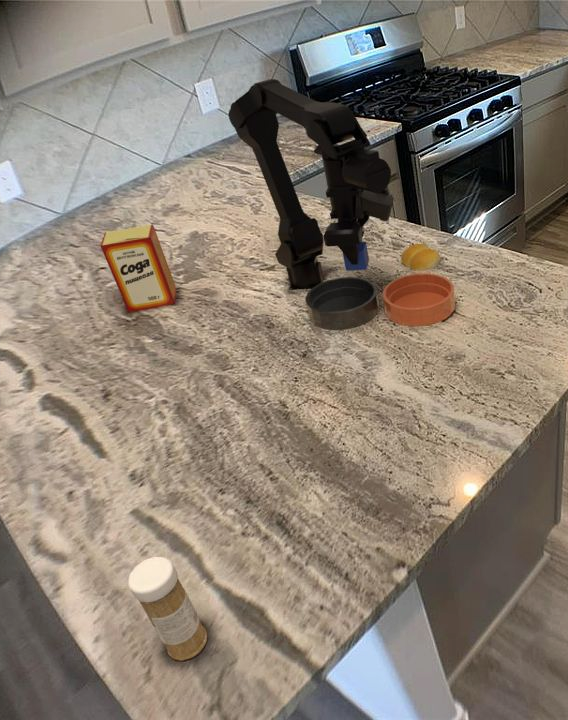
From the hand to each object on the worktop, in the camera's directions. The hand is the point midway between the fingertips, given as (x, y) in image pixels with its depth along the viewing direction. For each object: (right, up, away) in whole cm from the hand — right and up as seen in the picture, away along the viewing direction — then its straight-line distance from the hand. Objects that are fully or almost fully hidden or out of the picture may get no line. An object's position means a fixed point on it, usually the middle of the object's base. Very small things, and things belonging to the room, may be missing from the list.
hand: (356, 259), depth 128 cm
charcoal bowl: (-4, -10, +7) cm, 13 cm away
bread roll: (+11, +2, +23) cm, 26 cm away
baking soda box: (-47, -7, +17) cm, 50 cm away
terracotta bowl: (+12, -9, +7) cm, 16 cm away
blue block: (0, -1, +1) cm, 1 cm away
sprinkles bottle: (-11, -53, -50) cm, 74 cm away
